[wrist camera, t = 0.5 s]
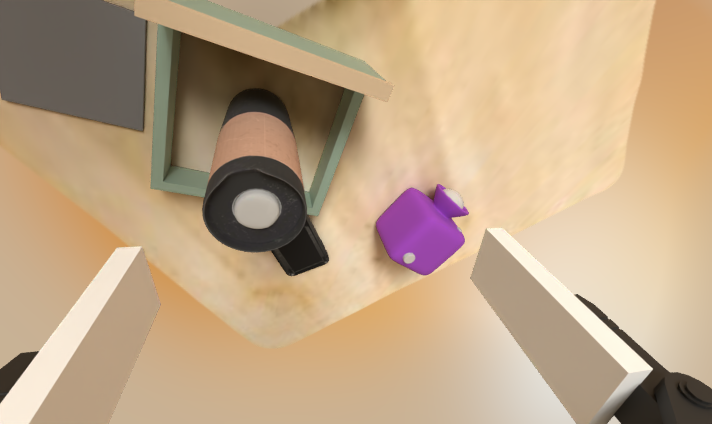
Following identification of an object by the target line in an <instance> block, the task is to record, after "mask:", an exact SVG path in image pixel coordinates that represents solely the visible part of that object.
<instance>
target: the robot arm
mask: <svg viewBox="0 0 712 424" xmlns="http://www.w3.org/2000/svg"><path fill="white" fill-rule="evenodd" d="M470 279H471V280H472V281H473V283H474V284H475V285H476V287H477V288H478V290H479V291H480V292H481V294H482V295H483V296H484V298H485V299H486V300H487V302H488V303H489V305H490V306H491V307H492V309H493V310H494V311H495V313H496V314H497V316H498V317H499V318H500V320H501V321H502V322H503V324H504V325H505V326H506V328H507V329H508V331H509V332H510V333H511V335H512V336H513V337H514V339H515V340H516V342H517V343H518V344H519V346H520V347H521V348H522V350H523V351H524V353H525V354H526V355H527V356H528V358H529V359H530V361H531V362H532V363H533V365H534V366H535V368H536V369H537V370H538V372H539V373H540V374H541V375H542V377H543V378H544V380H545V381H546V383H547V384H548V385H549V386H550V388H551V389H552V391H553V392H554V394H555V395H556V396H557V398H558V399H559V400H560V402H561V403H562V404H563V406H564V407H565V408H566V410H567V411H568V413H569V414H570V415H571V417H572V418H573V419H574V421H575V422H576V424H607V423H608V422H609V420H610V419H611V418H612V417H613V416H615V417H616V418H617V419H618V420H619V422H620V423H621V424H712V389H711V388H710V387H708V386H707V385H705V384H704V383H702V382H701V381H699V380H697V379H695V378H692V377H691V376H688V375H685V374H681V373H678V372H676V373H670V372H669V371H667V370H666V369H665V368H664V367H663V366H661V365H660V364H659V363H658V362H657V361H656V360H655V359H654V358H653V357H651V356H650V355H649V354H648V353H647V352H646V351H645V350H643V348H641V347H640V346H639V345H638V344H637V343H636V342H635V341H634V340H632V338H631V337H629V336H628V335H627V334H626V333H625V332H624V331H623V330H620V329H619V327H618V326H617V325H616V324H615V323H614V322H613V321H612V320H611V319H608V317H607V316H606V315H605V314H604V313H603V312H602V311H601V310H600V309H598V308H597V307H596V306H595V305H594V304H592V303H591V302H589V301H587V300H586V299H584V298H583V297H581V296H579V295H578V294H576V295H573V294H572V293H571V292H570V291H569V290H568V289H567V288H566V287H565V286H564V285H563V284H562V283H561V282H560V281H558V280H557V279H556V278H555V277H554V276H553V275H552V274H551V273H550V272H549V271H548V270H547V269H545V267H543V266H542V265H541V264H540V263H539V262H538V261H537V260H536V259H535V258H534V257H533V256H532V255H531V254H529V252H528V251H526V250H525V249H524V248H523V247H522V246H521V245H520V244H519V243H518V242H517V241H516V240H515V239H514V238H513V237H511V236H510V235H509V234H508V233H507V232H506V231H505V230H504V229H503V228H488V229H486V230H485V234H484V237H483V240H482V243H481V246H480V249H479V252H478V256H477V259H476V262H475V265H474V268H473V271H472V274H471V277H470ZM160 305H161V303H160V300H159V297H158V294H157V291H156V288H155V285H154V282H153V279H152V276H151V273H150V269H149V266H148V263H147V260H146V257H145V254H144V251H143V248H142V246H141V247H121V248H116V250H115V251H114V252H113V254H112V255H111V257H110V258H109V259H108V260H107V262H106V263H105V264H104V266H103V267H102V268H101V270H100V271H99V273H98V274H97V275H96V277H95V278H94V279H93V280H92V282H91V283H90V284H89V286H88V287H87V288H86V290H85V291H84V293H83V294H82V295H81V297H80V298H79V299H78V300H77V302H76V303H75V304H74V306H73V307H72V308H71V310H70V311H69V313H68V314H67V316H66V317H65V318H64V319H63V321H62V322H61V323H60V325H59V326H58V327H57V329H56V330H55V331H54V333H53V334H52V335H51V337H50V338H49V340H48V341H47V342H46V343H45V345H44V346H43V347H42V349H41V350H40V351H37V352H27V353H20V354H19V355H18V356H17V357H15V358H14V359H13V360H11V361H10V362H9V363H8V364H6V365H5V366H4V367H3V368H1V369H0V424H109V422H110V419H111V417H112V415H113V412H114V410H115V408H116V405H117V403H118V401H119V399H120V396H121V394H122V392H123V390H124V387H125V385H126V383H127V381H128V378H129V376H130V374H131V371H132V369H133V367H134V365H135V362H136V360H137V358H138V356H139V353H140V351H141V349H142V346H143V344H144V342H145V340H146V337H147V335H148V333H149V331H150V328H151V326H152V324H153V321H154V319H155V317H156V315H157V312H158V310H159V308H160Z"/></svg>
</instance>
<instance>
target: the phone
mask: <svg viewBox="0 0 712 424" xmlns="http://www.w3.org/2000/svg"><path fill="white" fill-rule="evenodd" d="M271 251H272V253H273V254H274V256H275V257H276V259H277V260H278V262H279V263H280V265H281V266H282V268H283V269H284V271H285V272H286V274H287V275H289V276H295V275H298V274H300V273H303V272H306V271H308V270H311V269H314V268H316V267H319V266H322V265H324V264H326V263H328V261H329V257H328V254H327V251H326V250H325V247H324V245H323V243H322V241H321V240H320V238H319V236H318V234H317V232H316V230H315V228H314V226H313V224H312V222H311V220H310V218H309V216H308V214H307V217H306V222H305V224H304V227H303V228H302V230H301V232H300V233H299V234H298V235H297V236H296V237H295V238H294V239H293V240H292V241H291V242H289V243H288V244H286V245H284V246H282V247H280V248H277V249H274V250H271Z"/></svg>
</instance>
